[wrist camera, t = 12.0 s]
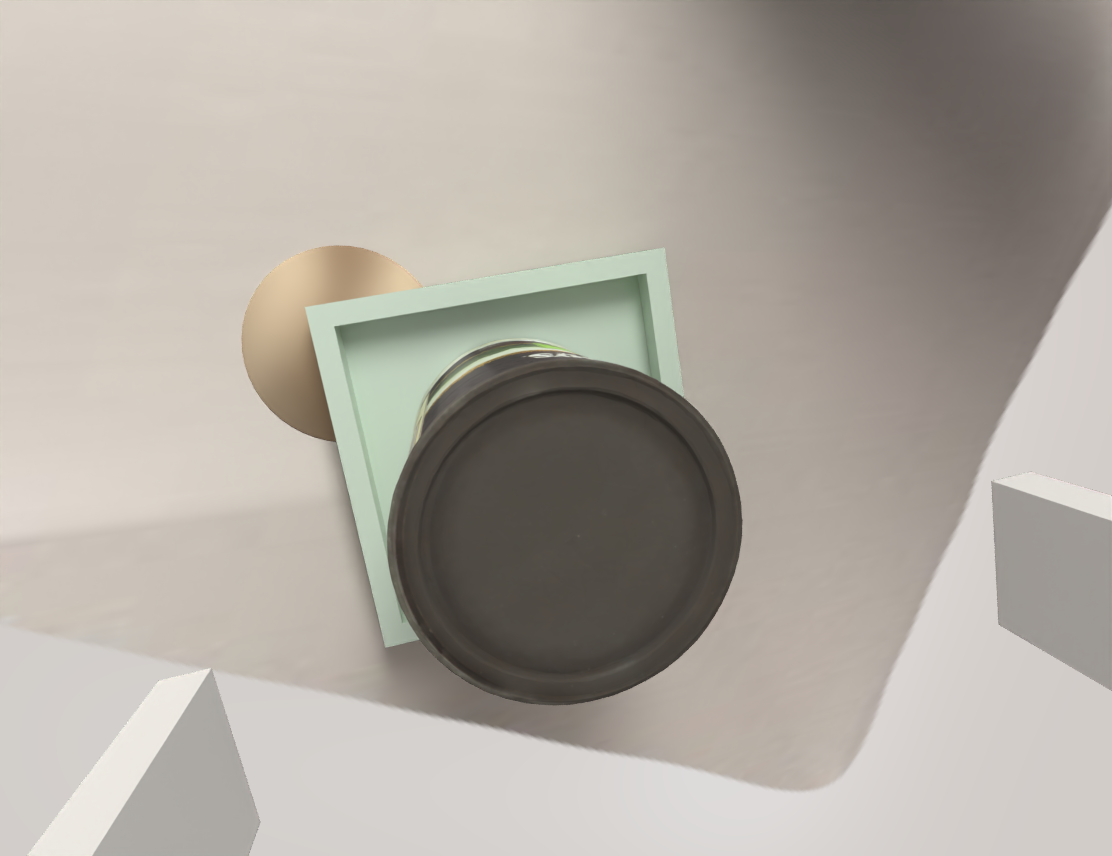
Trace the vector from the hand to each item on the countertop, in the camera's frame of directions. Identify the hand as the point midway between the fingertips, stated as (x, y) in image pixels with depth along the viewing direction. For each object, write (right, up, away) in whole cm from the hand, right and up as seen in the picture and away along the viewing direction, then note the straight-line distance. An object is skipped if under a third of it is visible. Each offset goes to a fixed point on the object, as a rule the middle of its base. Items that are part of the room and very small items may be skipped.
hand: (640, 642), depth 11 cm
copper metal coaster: (-11, +7, +21) cm, 25 cm away
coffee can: (-3, +3, +22) cm, 23 cm away
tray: (-3, +3, +22) cm, 23 cm away
